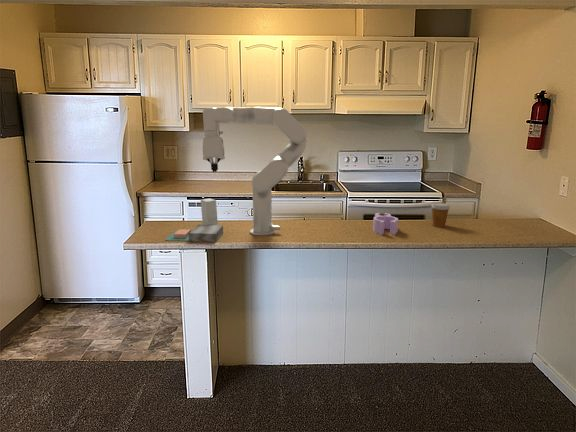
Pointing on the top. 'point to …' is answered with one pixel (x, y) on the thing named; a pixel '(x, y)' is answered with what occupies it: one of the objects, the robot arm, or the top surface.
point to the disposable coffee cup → (439, 214)
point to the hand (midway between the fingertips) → (214, 171)
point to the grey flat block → (206, 233)
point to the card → (182, 233)
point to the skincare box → (209, 212)
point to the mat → (171, 238)
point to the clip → (385, 223)
